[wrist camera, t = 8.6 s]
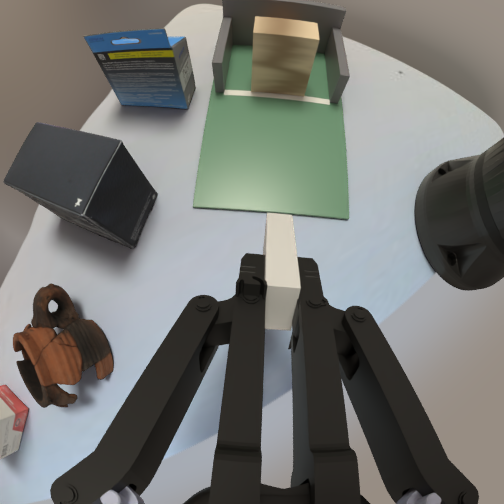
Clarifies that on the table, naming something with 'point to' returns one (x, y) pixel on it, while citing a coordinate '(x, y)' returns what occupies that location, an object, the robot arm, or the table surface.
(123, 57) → the label tape cartridge
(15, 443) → the ink cartridge box
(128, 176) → the small box
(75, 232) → the table surface
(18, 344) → the pottery mug
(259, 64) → the wooden block
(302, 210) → the pitch
